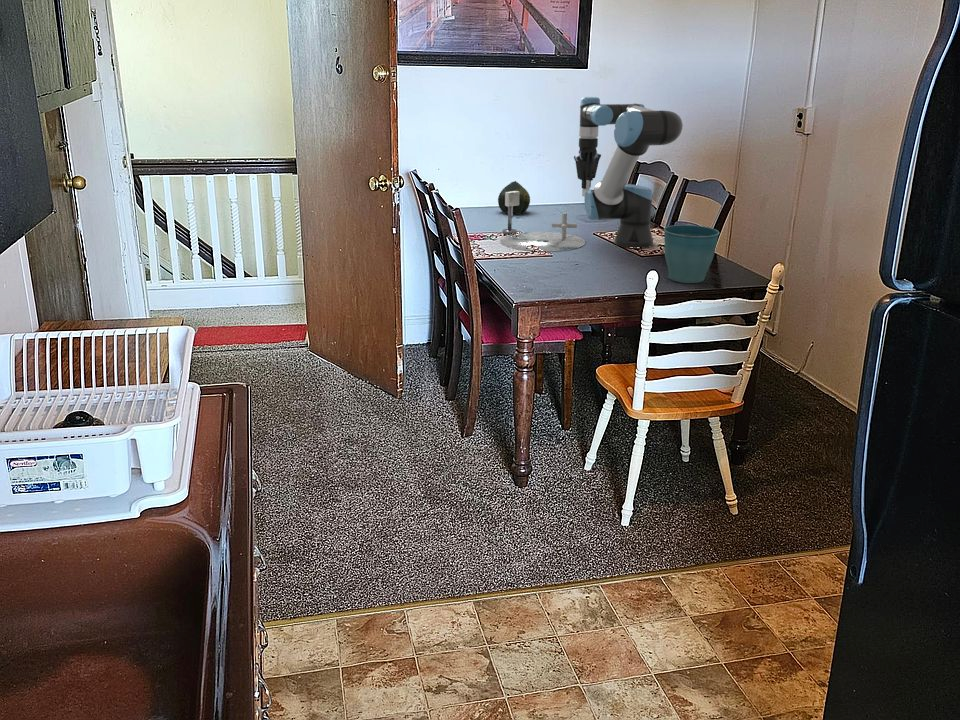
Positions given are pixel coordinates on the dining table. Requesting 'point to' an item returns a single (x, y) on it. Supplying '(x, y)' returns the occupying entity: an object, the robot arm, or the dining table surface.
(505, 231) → the block topped stand
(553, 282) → the dining table surface
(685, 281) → the flower pot
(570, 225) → the pipe connector
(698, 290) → the dining table surface
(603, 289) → the dining table surface
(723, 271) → the dining table surface
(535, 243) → the disc
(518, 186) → the squash
